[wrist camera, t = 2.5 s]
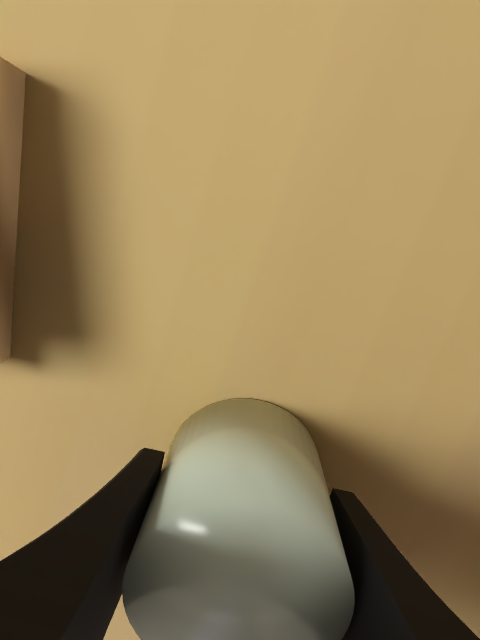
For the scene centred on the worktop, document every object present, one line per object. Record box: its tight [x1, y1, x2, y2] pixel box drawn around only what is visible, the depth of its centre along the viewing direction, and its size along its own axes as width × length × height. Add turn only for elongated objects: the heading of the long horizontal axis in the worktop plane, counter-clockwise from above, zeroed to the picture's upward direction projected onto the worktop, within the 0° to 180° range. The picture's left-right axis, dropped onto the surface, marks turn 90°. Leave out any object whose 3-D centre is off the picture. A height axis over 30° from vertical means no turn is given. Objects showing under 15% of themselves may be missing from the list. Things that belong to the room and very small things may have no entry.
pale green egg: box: [122, 398, 355, 640], centre depth 10 cm, size 5×5×4 cm
